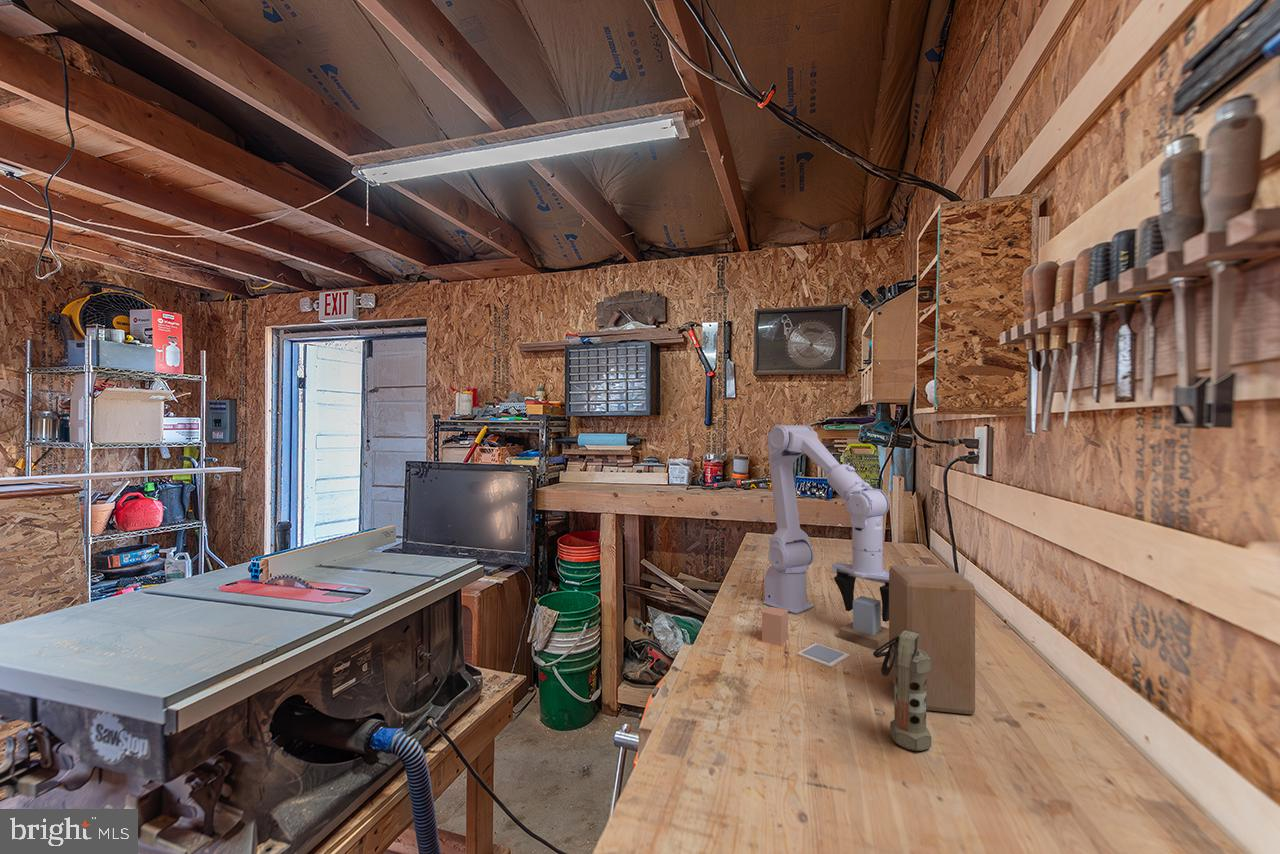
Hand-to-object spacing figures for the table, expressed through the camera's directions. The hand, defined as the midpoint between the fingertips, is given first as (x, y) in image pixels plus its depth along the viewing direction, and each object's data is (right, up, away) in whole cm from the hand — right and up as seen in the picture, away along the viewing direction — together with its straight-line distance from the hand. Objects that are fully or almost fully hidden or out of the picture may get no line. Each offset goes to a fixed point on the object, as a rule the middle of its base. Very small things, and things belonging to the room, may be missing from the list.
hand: (867, 614), depth 104 cm
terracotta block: (-19, -5, -1) cm, 20 cm away
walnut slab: (0, -6, 0) cm, 6 cm away
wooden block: (0, -5, -23) cm, 23 cm away
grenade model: (-11, -5, -35) cm, 37 cm away
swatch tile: (-12, -5, -8) cm, 15 cm away
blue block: (0, -3, 0) cm, 3 cm away
